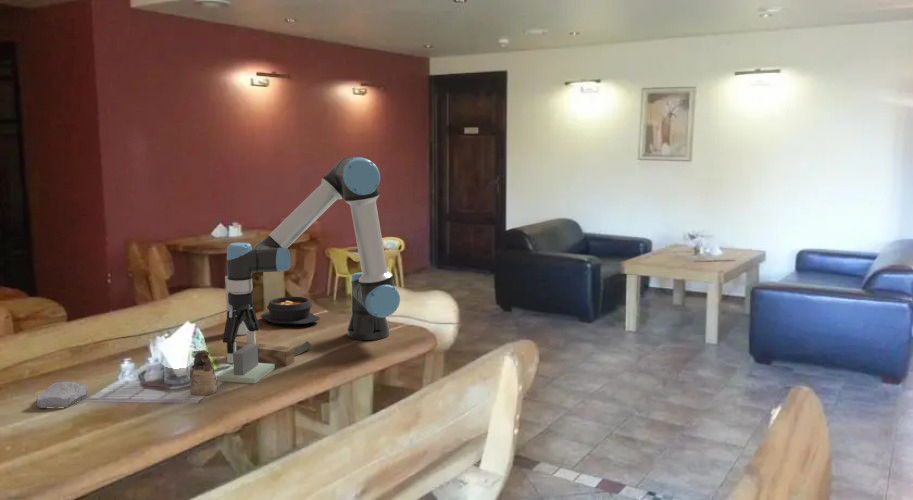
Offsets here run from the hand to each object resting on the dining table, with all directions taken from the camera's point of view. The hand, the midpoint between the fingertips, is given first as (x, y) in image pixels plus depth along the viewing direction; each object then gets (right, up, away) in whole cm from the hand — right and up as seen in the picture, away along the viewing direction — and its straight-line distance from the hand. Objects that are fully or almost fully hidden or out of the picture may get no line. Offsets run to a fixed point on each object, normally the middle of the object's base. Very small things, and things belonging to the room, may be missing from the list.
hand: (242, 356), depth 238 cm
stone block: (-37, -7, -38) cm, 53 cm away
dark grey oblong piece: (+15, 0, +7) cm, 17 cm away
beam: (+6, -1, -1) cm, 6 cm away
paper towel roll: (-9, +4, +31) cm, 33 cm away
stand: (+6, -3, -15) cm, 16 cm away
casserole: (+5, +6, +48) cm, 48 cm away
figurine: (-2, -6, -29) cm, 30 cm away
